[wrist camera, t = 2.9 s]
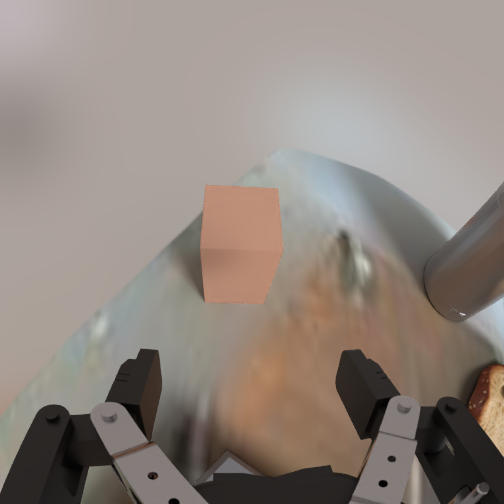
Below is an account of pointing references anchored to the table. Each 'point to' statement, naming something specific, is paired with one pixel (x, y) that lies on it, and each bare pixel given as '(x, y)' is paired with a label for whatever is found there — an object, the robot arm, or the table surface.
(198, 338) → the table surface
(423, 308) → the table surface
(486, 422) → the slice of bread
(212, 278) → the salmon pink block
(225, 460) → the charcoal bin
